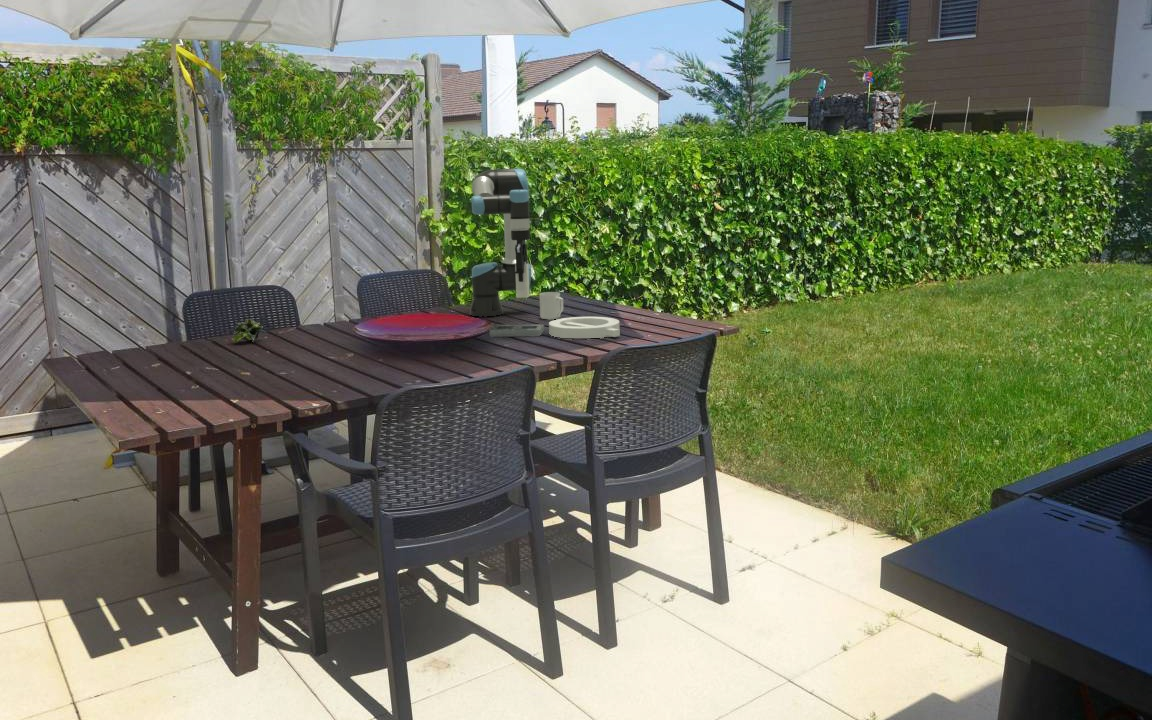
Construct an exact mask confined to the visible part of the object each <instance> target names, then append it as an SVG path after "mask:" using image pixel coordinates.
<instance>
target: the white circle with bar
mask: <svg viewBox="0 0 1152 720" xmlns="http://www.w3.org/2000/svg"><path fill="white" fill-rule="evenodd" d="M548 333H549V334H550V335H551V336H550V335H549V334H548V335H549V336H550V337H552V336H554V337H553V338H555V337H560V338H600V339H605V338H604V337H607V338H612V337H613V338H616V337H620V336H621V331H620V320H619V319H616V318H613V317H606V316H573V317H572V316H570V317H563V318H559V319H556V320H550V321H549V322H548ZM560 338H559V339H560Z"/></svg>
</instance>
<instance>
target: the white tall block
mask: <svg viewBox="0 0 1152 720" xmlns="http://www.w3.org/2000/svg"><path fill="white" fill-rule="evenodd" d="M528 264H529V263H528ZM528 264H526V262H524V273H525V290H518V274H517V273H515V274H516V290H515V292H516V294H515V295H516V299H517V298H518V299H519V298H521V299H522V298H527V299H528V298H529V297H530V292H531V291H530V286H529V266H528ZM515 272H516V265H515Z"/></svg>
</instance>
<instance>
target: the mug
mask: <svg viewBox="0 0 1152 720" xmlns="http://www.w3.org/2000/svg"><path fill="white" fill-rule="evenodd" d="M538 295H539V316H540V318H541V319H542V320H543V319H548V320H547V321H553V320H554V319H556V320H557V319H560V318H561V313H563V312H564V298H563V297H561V294H560V292H557V291H547V292H540V293H539V294H538Z"/></svg>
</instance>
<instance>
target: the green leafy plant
mask: <svg viewBox="0 0 1152 720" xmlns="http://www.w3.org/2000/svg"><path fill="white" fill-rule="evenodd" d="M237 325H238V327H235V328H234V329H235V330H234V331H233V336H234V337H233V339H232V343H233V342H236V343H237V342H239V341H241V340H243V339H244V338H247V339H248V340H249V341H250V340H251V339H252V341H251V343H252V342H253V343H254V341H255V340H258V339H259V334H260V333H261V334H265V333H266V330H264V324H263V323H262V324H261V322H258V321H255V320H254V319H251V318H249V319H247V320H243V322H238V324H237ZM257 338H258V339H257Z"/></svg>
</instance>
